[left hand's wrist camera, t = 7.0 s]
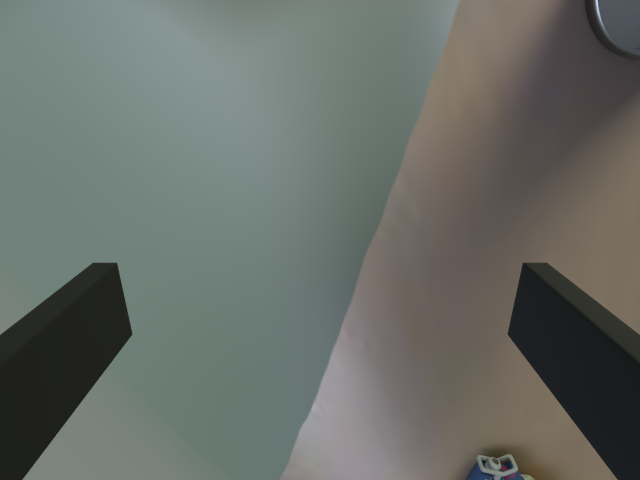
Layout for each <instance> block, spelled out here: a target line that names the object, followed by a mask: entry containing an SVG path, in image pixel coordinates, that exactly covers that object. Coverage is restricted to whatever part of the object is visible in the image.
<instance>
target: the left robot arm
mask: <svg viewBox="0 0 640 480" xmlns="http://www.w3.org/2000/svg"><path fill="white" fill-rule="evenodd" d="M585 3H586V11H587V16H588V20H589V23H590V26H591V28H592V30H593V32H594V34H595V35H596V37H597V38H598V40H599V41H600V42H601V43H602V44H603V45H604V46H605V47H606V48H607V49H609V50H610V51H612V52H613V53H615V54H617V55H620V56H622V57H626V58H631V59H640V0H585ZM131 335H132V330H131V326H130V321H129V316H128V312H127V307H126V302H125V298H124V293H123V289H122V284H121V279H120V275H119V270H118V266H117V263H92V264H91V265H90V266H89V267H87V268H86V269H85V270H83V271H82V272H81V273H79V274H78V275H77V276H76V277H74V278H73V279H72V280H71V281H69V282H68V283H67V284H65V285H64V286H63V287H61V288H60V289H59V290H58V291H56V292H55V293H54V294H52V295H51V296H50V297H49V298H47V299H46V300H45V301H43V302H42V303H41V304H40V305H38V306H37V307H36V308H34V309H33V310H32V311H31V312H29V313H28V314H27V315H25V316H24V317H23V318H22V319H20V320H19V321H18V322H16V323H15V324H14V325H13V326H11V327H10V328H9V329H7V330H6V331H5V332H4V333H2V334H1V335H0V480H22V479H23V478H24V477H25V475H26V474H27V473H28V471H29V470H30V469H31V467H32V466H33V465H34V463H35V462H36V461H37V460H38V458H39V457H40V456H41V454H42V453H43V452H44V450H45V449H46V448H47V446H48V445H49V444H50V442H51V441H52V440H53V438H54V437H55V436H56V434H57V433H58V432H59V430H60V429H61V428H62V426H63V425H64V424H65V423H66V421H67V420H68V419H69V417H70V416H71V415H72V413H73V412H74V411H75V409H76V408H77V407H78V405H79V404H80V403H81V401H82V400H83V399H84V397H85V396H86V395H87V393H88V392H89V391H90V390H91V388H92V387H93V386H94V384H95V383H96V382H97V380H98V379H99V378H100V376H101V375H102V374H103V372H104V371H105V370H106V368H107V367H108V366H109V364H110V363H111V362H112V361H113V359H114V358H115V357H116V355H117V354H118V353H119V351H120V350H121V349H122V347H123V346H124V345H125V343H126V342H127V341H128V339H129V338H130V337H131ZM508 335H509V337H510V338H511V339H512V341H513V342H514V343H515V345H516V346H517V347H518V349H519V350H520V351H521V353H522V354H523V355H524V357H525V358H526V359H527V361H528V362H529V363H530V364H531V366H532V367H533V368H534V370H535V371H536V372H537V374H538V375H539V376H540V378H541V379H542V380H543V382H544V383H545V384H546V386H547V387H548V388H549V390H550V391H551V392H552V394H553V395H554V396H555V397H556V399H557V400H558V401H559V403H560V404H561V405H562V407H563V408H564V409H565V411H566V412H567V413H568V415H569V416H570V417H571V419H572V420H573V421H574V423H575V424H576V425H577V427H578V428H579V429H580V431H581V432H582V433H583V434H584V436H585V437H586V438H587V440H588V441H589V442H590V444H591V445H592V446H593V448H594V449H595V450H596V452H597V453H598V454H599V456H600V457H601V458H602V460H603V461H604V462H605V464H606V465H607V466H608V467H609V469H610V470H611V471H612V473H613V474H614V475H615V477H616V478H617V479H618V480H640V335H639V334H638V333H636V332H635V331H634V330H633V329H631V328H630V327H629V326H627V325H626V324H625V323H624V322H622V321H621V320H620V319H618V318H617V317H616V316H615V315H613V314H612V313H611V312H609V311H608V310H607V309H606V308H604V307H603V306H602V305H600V304H599V303H598V302H597V301H595V300H594V299H593V298H591V297H590V296H589V295H588V294H586V293H585V292H584V291H582V290H581V289H580V288H579V287H577V286H576V285H575V284H573V283H572V282H571V281H570V280H568V279H567V278H566V277H564V276H563V275H562V274H561V273H559V272H558V271H557V270H555V269H554V268H553V267H552V266H550V265H549V264H548V263H523V266H522V270H521V275H520V279H519V284H518V289H517V293H516V298H515V302H514V307H513V312H512V316H511V321H510V326H509V330H508Z"/></svg>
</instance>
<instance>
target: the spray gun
mask: <svg viewBox="0 0 640 480" xmlns="http://www.w3.org/2000/svg"><path fill="white" fill-rule="evenodd" d="M476 459H477V461H478V462H477V464H476V465H475V467H474V468H473V470H472V471H471V473H470V474H469V476H468V478H467V480H535V479H534V478H532V477H531V476H530V475H526V474H520V473H519V471H518V467H517V465H516V463H515V461H514V459H513V457H512V455H510V454H507V455H504V456H502V457H499V458H494V457H487V456H482V455H478V456H477V457H476ZM506 459H511V461H512V462H511V461H508V462H505V463H503V464H502V465H501V464H500V461H503V460H506ZM483 460H486V461H483Z"/></svg>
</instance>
